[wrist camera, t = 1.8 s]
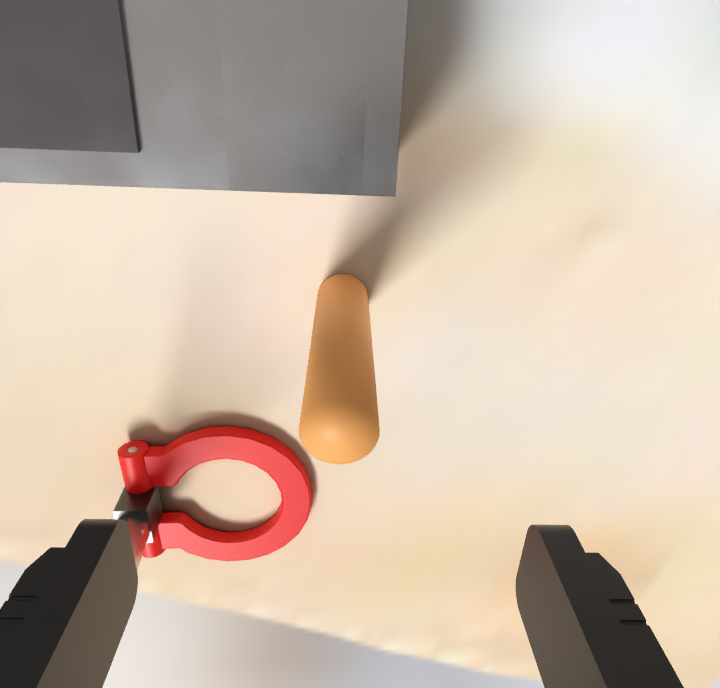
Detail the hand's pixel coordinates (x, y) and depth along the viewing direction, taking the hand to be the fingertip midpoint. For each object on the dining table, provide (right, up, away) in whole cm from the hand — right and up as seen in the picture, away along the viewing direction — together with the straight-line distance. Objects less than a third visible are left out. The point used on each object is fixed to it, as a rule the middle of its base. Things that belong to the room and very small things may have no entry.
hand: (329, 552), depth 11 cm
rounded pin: (0, +6, +13) cm, 14 cm away
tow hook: (-7, -3, +18) cm, 19 cm away
